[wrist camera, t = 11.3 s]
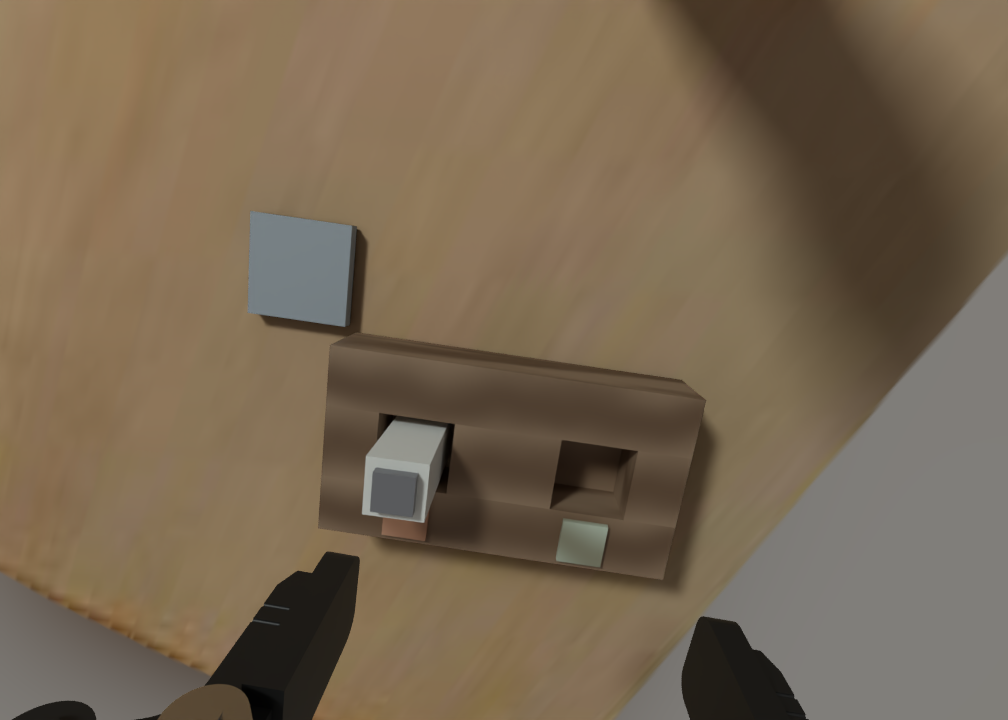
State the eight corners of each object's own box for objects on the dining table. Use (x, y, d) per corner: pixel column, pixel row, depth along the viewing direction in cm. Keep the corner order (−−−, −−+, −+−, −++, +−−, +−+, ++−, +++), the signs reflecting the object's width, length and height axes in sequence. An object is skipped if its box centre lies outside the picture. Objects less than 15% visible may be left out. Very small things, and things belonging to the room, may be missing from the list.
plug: (404, 406, 36) (362, 460, 27) (452, 412, 36) (427, 469, 27) (400, 451, 37) (358, 519, 28) (448, 458, 37) (422, 528, 28)
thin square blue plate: (258, 212, 35) (250, 211, 34) (356, 226, 35) (352, 225, 34) (255, 311, 36) (247, 312, 35) (349, 324, 36) (344, 326, 35)
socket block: (356, 332, 36) (327, 346, 31) (681, 380, 36) (708, 402, 31) (343, 493, 39) (315, 531, 34) (645, 538, 39) (664, 583, 34)
